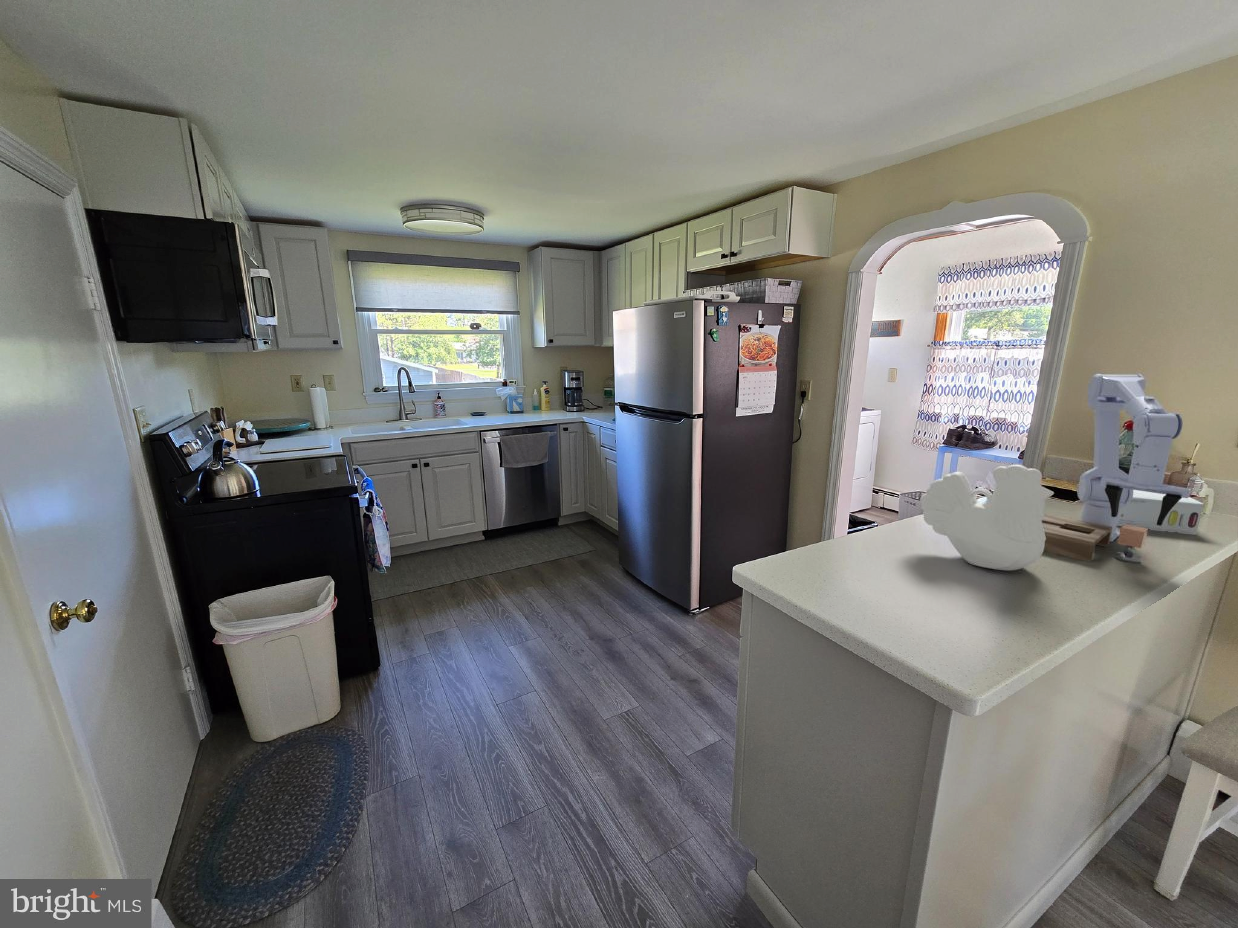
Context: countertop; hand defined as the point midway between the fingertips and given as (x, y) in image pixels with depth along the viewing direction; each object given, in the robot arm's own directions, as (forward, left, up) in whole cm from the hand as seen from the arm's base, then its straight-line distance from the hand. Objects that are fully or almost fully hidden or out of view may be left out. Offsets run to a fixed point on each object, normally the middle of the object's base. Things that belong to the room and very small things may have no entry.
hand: (1136, 520), depth 119 cm
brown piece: (0, 0, -10) cm, 10 cm away
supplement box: (-40, -3, -10) cm, 41 cm away
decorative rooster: (+29, -22, -10) cm, 38 cm away
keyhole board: (0, -13, -10) cm, 16 cm away
